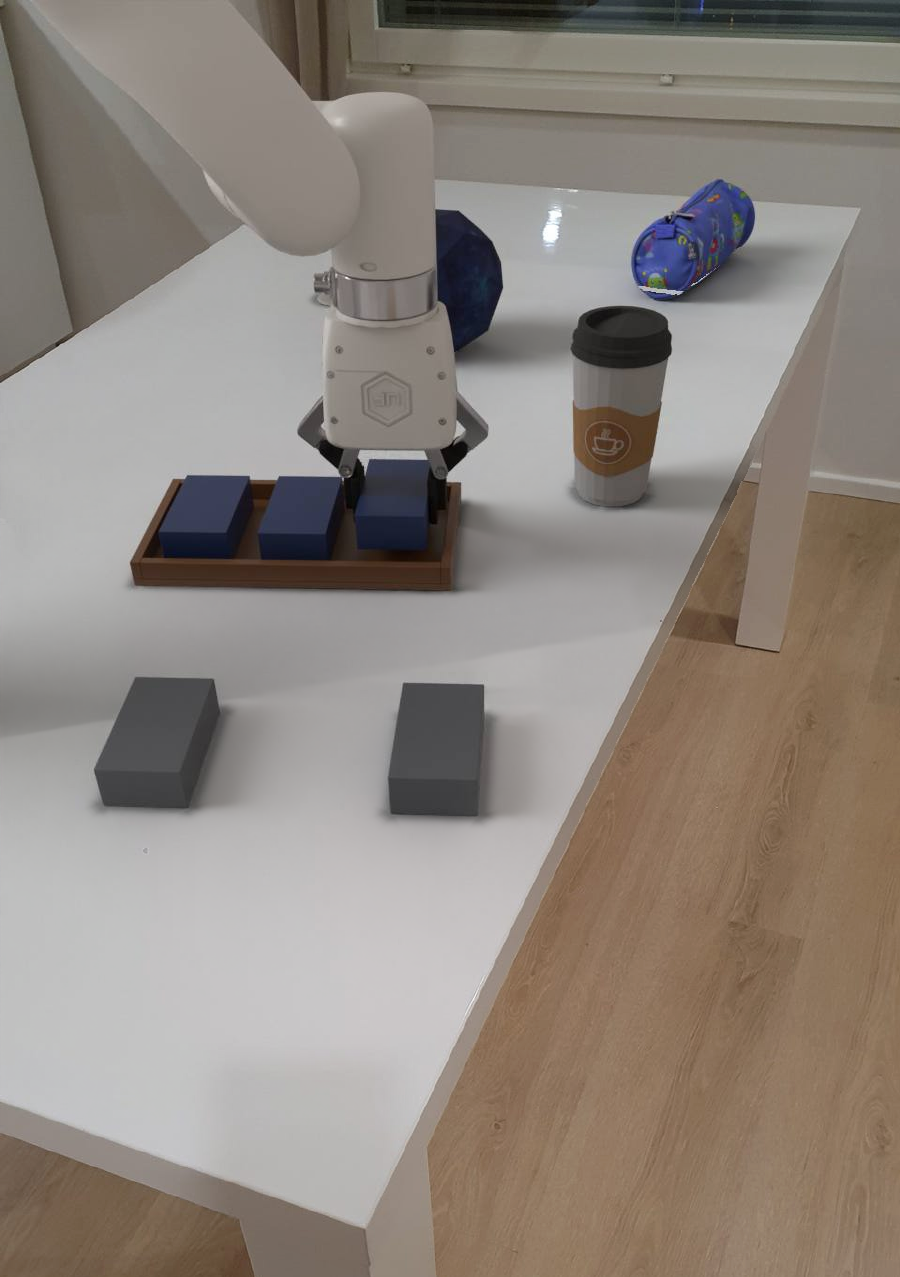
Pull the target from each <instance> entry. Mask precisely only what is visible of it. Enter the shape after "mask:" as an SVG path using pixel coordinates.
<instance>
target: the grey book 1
mask: <svg viewBox="0 0 900 1277" xmlns="http://www.w3.org/2000/svg"><path fill="white" fill-rule="evenodd" d="M220 715H221V710H220V704H219V698H218V694H217V688H216V682H215V678H213V677H212V678H211V677H210V678H208V677H207V678H205V677H165V676H164V677H163V676H161V677H157V676H135V677H134V678H133V681H132V683H131V686H130V687H129V690H128V692H127V694H126V696H125V699H124V701H123V704H122V705H121V708H120V710H119V712H118V714H117V716H116V719H115V721H114V723H113V726H112V728H111V730H110V733H109V734H108V737H107V739H106V741H105V744H104V745H103V748H102V750H101V752H100V755H99V757H98V759H97V761H96V763H95V766H94V768H93V773H94V776H95V780H96V783H97V787H98V790H99V794H100V798H101V802H102V805H103V806H108V807H109V806H111V807H113V806H114V807H141V808H142V807H144V808H145V807H146V808H148V807H149V808H184V809H187V808H189V805H190V802H191V799H192V797H193V794H194V790H195V788H196V785H197V782H198V780H199V776H200V774H201V770H202V768H203V764H204V762H205V759H206V756H207V752H208V750H209V747H210V743H211V741H212V738H213V735H214V732H215V730H216V727H217V724H218V721H219V718H220Z"/></svg>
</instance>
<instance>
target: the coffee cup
mask: <svg viewBox="0 0 900 1277" xmlns="http://www.w3.org/2000/svg"><path fill="white" fill-rule="evenodd" d="M571 339H572V342H571V345H570V348H569V349H570V351H571V355H572V385H573V386H572V390H573V391H572V392H573V394H572V395H573V398H572V430H573V431H572V439H573V440H572V441H573V444H572V446H573V454H574V459H573V460H574V486H575V489H576V490H577V492H578V495H579V497H580V498H581V499H583V500H584V501H586V502H587V503H590V504H593V505H597V506H602V507H611V508H612V507H613V508H614V507H623V506H628V505H632V504H634V503H636V502H637V501H639V500H641V498H642V497H643V494H644V493H645V492H646V491H647V488H648V482H649V476H650V469H651V465H652V464H651V463H652V458H653V457H654V453H655V447H656V440H657V434H658V429H659V422H660V417H661V416H660V415H661V410H662V404H663V401H662V398H663V391H664V386H665V380H666V374H667V369H668V368H667V367H668V363H669V358H670V357H671V355H672V352H673V348H672V340H673V334H672V333H671V330H670V329H669V320H668V319H667V317H666V316H665V315H664V314H662V313H661V312H658V311H656V310H654V309H651V308H646V307H641V306H634V305H608V306H601V307H597V308H593V309H590V310H587V311H585V312H584V313H582V314H581V315H580V316H579V318H578V321H577V327H576V328H574V329H573V332H572V335H571Z"/></svg>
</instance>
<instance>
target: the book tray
mask: <svg viewBox="0 0 900 1277" xmlns="http://www.w3.org/2000/svg"><path fill="white" fill-rule="evenodd" d="M184 480H185V478H172V480H171V482H170V484H169V486H168V488H167V490H166V491H165V494H164V495H163V497H162V499H161V501H160V503H159V505H158V507H157V509H156V511H155V513H154V514H153V517H152V518H151V520H150V522H149V524H148V526H147V528H146V530H145V532H144V534H143V535H142V538H141V540H140V541H139V544H138V546H137V548H136V549H135V552H134V554H133V555H132V557H131V558H130V561H129V565H130V566H129V567H130V571H131V576H132V579H133V583H134V586H167V587H168V586H171V587H175V586H177V587H226V588H227V587H233V588H234V587H235V588H288V589H344V590H345V589H347V590H348V589H349V590H350V589H351V590H352V589H353V590H406V591H409V590H411V591H451V590H452V585H453V577H454V569H455V562H456V561H455V560H456V551H457V543H458V536H459V527H460V519H461V510H462V482H461V481H447V509H446V510H439V516H438V522H437V525H433V524H431V523H430V526H429V532H428V539H427V545H426V550H375V549H357V539H356V526H355V523H354V517H353V509H346V503H345V491H344V480H342V481H343V493H344V505H345V509H344V513H343V517H342V520H341V524H340V528H339V531H338V535H337V539H336V542H335V546H334V550H333V553H332V557H331V561H313V560H261V555H260V548H259V541H258V534H257V533H258V530H259V528H260V525H261V522H262V520H263V517H264V514H265V512H266V509H267V506H268V504H269V501H270V498H271V496H272V493H273V490H274V488H275V485H276V482H277V480H278V479H250V481H251V488H252V495H253V503H254V509H253V511H252V514H251V516H250V519H249V521H248V524H247V527H246V529H245V532H244V534H243V537H242V539H241V542H240V544H239V547H238V550H237V552H236V555H235V557H234V559H184V558H164V556H163V551H162V546H161V541H160V535H159V530H160V528H161V526H162V524H163V522H164V520H165V518H166V516H167V514H168V512H169V510H170V508H171V506H172V504H173V502H174V500H175V498H176V496H177V494H178V492H179V490H180V488H181V486H182V484H183V482H184Z"/></svg>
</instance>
